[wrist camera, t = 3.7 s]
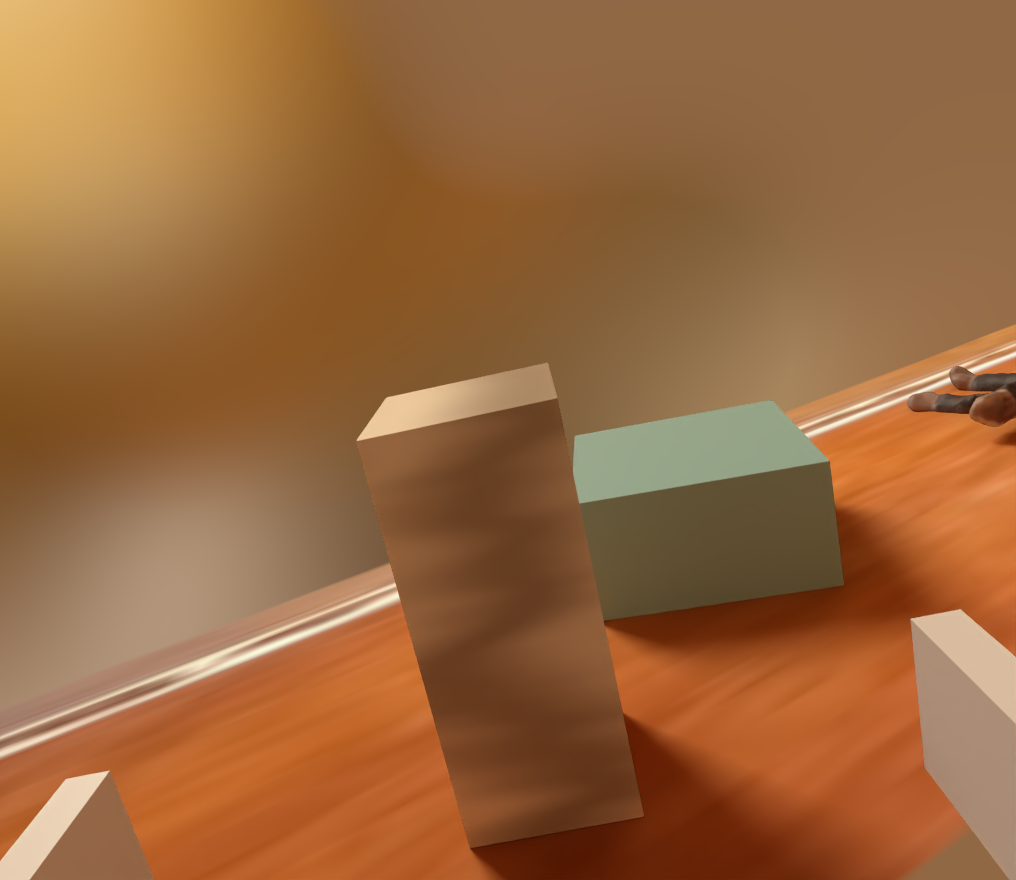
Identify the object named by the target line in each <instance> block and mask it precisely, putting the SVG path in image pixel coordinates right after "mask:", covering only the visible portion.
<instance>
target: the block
mask: <svg viewBox="0 0 1016 880" xmlns="http://www.w3.org/2000/svg"><path fill="white" fill-rule="evenodd" d="M356 443H357V446H358V450H359V453H360V457H361V461H362V464H363V468H364V471H365V475H366V478H367V482H368V486H369V489H370V493H371V496H372V500H373V503H374V507H375V510H376V514H377V518H378V521H379V525H380V529H381V532H382V536H383V539H384V542H385V546H386V550H387V553H388V557H389V561H390V564H391V568H392V571H393V575H394V579H395V582H396V586H397V589H398V593H399V596H400V600H401V604H402V607H403V611H404V614H405V618H406V621H407V625H408V629H409V632H410V636H411V639H412V643H413V646H414V650H415V654H416V657H417V661H418V664H419V668H420V672H421V675H422V679H423V682H424V686H425V689H426V693H427V697H428V700H429V704H430V707H431V711H432V714H433V718H434V722H435V725H436V729H437V732H438V736H439V739H440V743H441V747H442V750H443V754H444V757H445V761H446V764H447V768H448V772H449V775H450V779H451V782H452V786H453V789H454V793H455V797H456V800H457V804H458V807H459V811H460V814H461V818H462V822H463V825H464V829H465V832H466V836H467V840H468V843H469V847H470V848H475V847H480V846H486V845H491V844H497V843H502V842H508V841H513V840H519V839H524V838H530V837H535V836H541V835H546V834H552V833H557V832H563V831H568V830H574V829H579V828H585V827H590V826H595V825H601V824H606V823H612V822H617V821H623V820H628V819H634V818H639V817H644V812H643V807H642V803H641V798H640V793H639V788H638V783H637V779H636V774H635V769H634V764H633V759H632V755H631V750H630V745H629V740H628V735H627V730H626V726H625V721H624V716H623V711H622V706H621V702H620V697H619V692H618V687H617V682H616V678H615V673H614V668H613V663H612V658H611V654H610V649H609V644H608V639H607V634H606V629H605V625H604V620H603V615H602V610H601V605H600V601H599V596H598V591H597V586H596V581H595V577H594V572H593V567H592V562H591V557H590V553H589V548H588V543H587V538H586V533H585V529H584V524H583V519H582V514H581V509H580V504H579V500H578V495H577V490H576V485H575V480H574V476H573V471H572V466H571V461H570V456H569V452H568V447H567V442H566V438H565V433H564V428H563V423H562V418H561V413H560V408H559V403H558V399H557V395H556V391H555V388H554V384H553V381H552V377H551V373H550V370H549V366H548V363H544V364H540V365H535V366H530V367H526V368H521V369H517V370H512V371H507V372H503V373H499V374H494V375H489V376H484V377H480V378H476V379H471V380H466V381H461V382H457V383H452V384H448V385H443V386H438V387H434V388H429V389H425V390H420V391H415V392H411V393H406V394H401V395H397V396H392V397H388V398H386V399H385V401H384V402H383V403H382V405H381V406H380V408H379V409H378V411H377V412H376V414H375V415H374V416H373V418H372V419H371V421H370V422H369V423H368V425H367V426H366V428H365V429H364V431H363V432H362V433H361V435H360V436H359V438H358V439H357V441H356Z"/></svg>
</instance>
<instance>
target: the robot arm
mask: <svg viewBox="0 0 1016 880" xmlns="http://www.w3.org/2000/svg"><path fill="white" fill-rule="evenodd" d="M911 629H912V640H913V650H914V660H915V671H916V681H917V692H918V702H919V712H920V723H921V733H922V744H923V754H924V764H925V769H926V770H927V771H928V773H929V774H930V775H931V777H932V778H933V779H934V781H935V782H936V783H937V784H938V786H939V787H940V788H941V790H942V791H943V792H944V794H945V795H946V796H947V798H948V799H949V800H950V802H951V803H952V804H953V806H954V807H955V808H956V810H957V811H958V812H959V814H960V815H961V816H962V818H963V819H964V820H965V822H966V823H967V824H968V826H969V827H970V828H971V830H972V831H973V832H974V833H975V835H976V836H977V837H978V839H979V840H980V841H981V843H982V844H983V845H984V847H985V848H986V849H987V851H988V852H989V853H990V854H991V856H992V857H993V859H994V860H995V861H996V863H997V864H998V865H999V867H1000V868H1001V869H1002V871H1003V872H1004V873H1005V875H1006V876H1007V877H1008V879H1009V880H1016V657H1015V656H1014V655H1013V654H1012V653H1010V652H1009V651H1008V650H1007V649H1006V648H1005V647H1004V646H1002V645H1001V644H1000V643H999V642H998V641H997V640H995V639H994V638H993V637H992V636H991V635H990V634H989V633H987V632H986V631H985V630H984V629H983V628H982V627H980V626H979V625H978V624H977V623H976V622H975V621H973V620H972V619H971V618H970V617H969V616H968V615H967V614H965V613H964V612H963V611H962V610H961V609H959V610H954V611H949V612H943V613H938V614H933V615H928V616H922V617H917V618H912V619H911ZM0 880H154V878H153V875H152V873H151V870H150V868H149V865H148V863H147V861H146V858H145V856H144V853H143V851H142V848H141V846H140V843H139V841H138V839H137V836H136V834H135V831H134V829H133V826H132V824H131V821H130V819H129V817H128V814H127V812H126V809H125V807H124V804H123V802H122V800H121V797H120V795H119V792H118V790H117V787H116V785H115V782H114V780H113V778H112V775H111V773H110V771H106V772H101V773H95V774H90V775H85V776H80V777H74V778H69V779H66V780H65V781H64V782H63V784H62V785H61V786H60V787H59V788H58V790H57V791H56V792H55V793H54V795H53V796H52V797H51V798H50V800H49V801H48V802H47V803H46V805H45V806H44V807H43V808H42V810H41V811H40V812H39V813H38V815H37V816H36V817H35V818H34V820H33V821H32V822H31V823H30V825H29V826H28V827H27V828H26V830H25V831H24V832H23V833H22V835H21V836H20V837H19V838H18V840H17V841H16V842H15V843H14V845H13V846H12V847H11V848H10V850H9V851H8V852H7V853H6V855H5V856H4V857H3V858H2V860H1V861H0Z"/></svg>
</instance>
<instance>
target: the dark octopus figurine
mask: <svg viewBox="0 0 1016 880" xmlns="http://www.w3.org/2000/svg"><path fill="white" fill-rule="evenodd" d="M949 376H950V379H951V382H952V383H953V385H954V386H955V387H956V388H958V389H960V390H970V391H994V392H991V393H986V394H973V395H969V396H957V395H951V394H944V395H938V394H936V393H934V392H923V393H919V394H914V395H912V396H910V397H909V399H908V402H907V404H908V407H909V408H910V409H911V410H913V411H935V412H946V413H959V414H969V415H970V417H971V419H972V420H974V421H976V422H979V423H982V424H984V425H987V426H991V427H998V426H1000V425H1003V424H1004V423H1006V422H1007V421H1009V420H1011V419H1014V418H1016V373H1010V374H1005V373H998V374H983V375H979V376H976V375H974V374H973V373H971V372H970V371H968V370H967V369H965V368H963V367H960V366H956V367H953V368H952V369H951V370H950V372H949Z"/></svg>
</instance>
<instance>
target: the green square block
mask: <svg viewBox="0 0 1016 880" xmlns="http://www.w3.org/2000/svg"><path fill="white" fill-rule="evenodd" d="M573 476H574V480H575V485H576V490H577V495H578V500H579V504H580V509H581V514H582V519H583V524H584V529H585V533H586V538H587V543H588V548H589V553H590V557H591V562H592V567H593V572H594V577H595V581H596V586H597V591H598V596H599V601H600V605H601V610H602V615H603V620H604V621H607V620H613V619H620V618H627V617H634V616H641V615H647V614H654V613H661V612H668V611H674V610H681V609H688V608H695V607H701V606H708V605H715V604H722V603H729V602H735V601H742V600H749V599H756V598H762V597H769V596H776V595H783V594H789V593H796V592H803V591H810V590H817V589H823V588H830V587H837V586H844V579H843V571H842V562H841V554H840V545H839V537H838V528H837V520H836V511H835V503H834V494H833V486H832V477H831V469H830V461H829V460H828V459H827V458H826V457H825V456H824V455H823V454H822V452H821V451H820V450H819V449H818V448H817V447H816V446H815V445H814V444H813V443H812V442H811V441H810V440H809V439H808V438H807V437H806V436H805V435H804V433H803V432H802V431H801V430H800V429H799V428H798V427H797V426H796V425H795V424H794V423H793V422H792V421H791V420H790V419H789V418H788V417H787V416H786V414H785V413H784V412H783V411H782V410H781V409H780V408H779V407H778V406H777V405H776V404H775V403H774V402H773V401H772V400H769V401H763V402H758V403H753V404H747V405H742V406H736V407H731V408H725V409H720V410H715V411H709V412H704V413H698V414H693V415H687V416H682V417H676V418H671V419H665V420H660V421H654V422H649V423H643V424H638V425H632V426H627V427H621V428H616V429H611V430H605V431H599V432H594V433H589V434H583V435H578V436H575V445H574V463H573Z"/></svg>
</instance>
